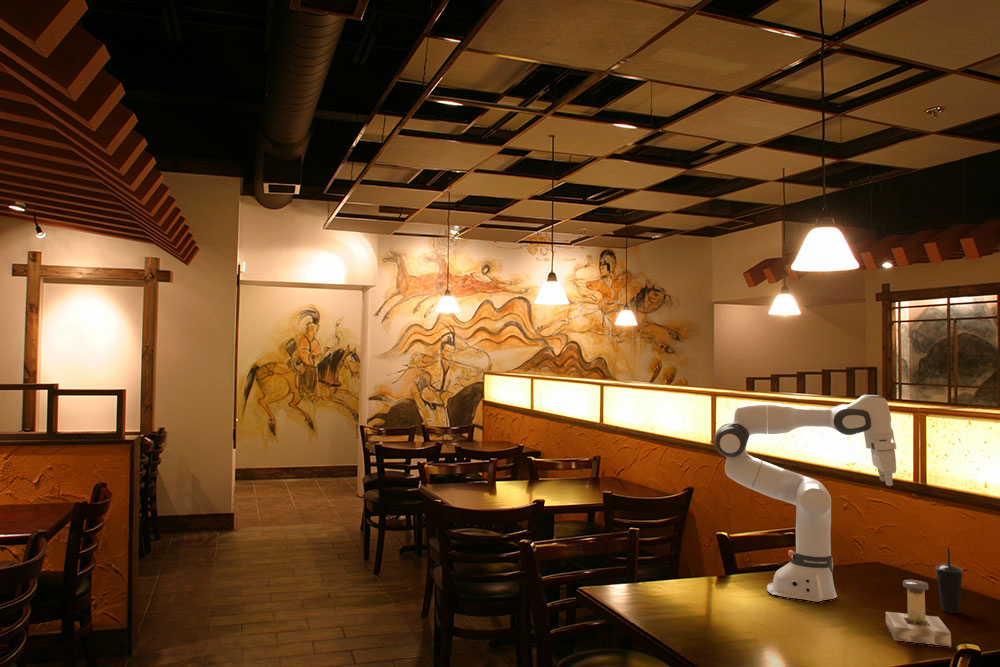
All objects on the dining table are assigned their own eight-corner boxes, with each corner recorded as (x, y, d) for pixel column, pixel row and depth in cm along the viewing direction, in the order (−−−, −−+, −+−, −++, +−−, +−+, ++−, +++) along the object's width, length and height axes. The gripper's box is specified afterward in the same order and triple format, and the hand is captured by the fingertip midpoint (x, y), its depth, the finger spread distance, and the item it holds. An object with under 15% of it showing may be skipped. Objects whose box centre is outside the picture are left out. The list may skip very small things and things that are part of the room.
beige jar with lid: (907, 638, 206) (905, 584, 207) (902, 630, 212) (901, 578, 213) (932, 641, 204) (930, 586, 205) (927, 633, 210) (925, 580, 211)
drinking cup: (964, 617, 224) (962, 552, 225) (936, 612, 228) (934, 549, 230) (964, 610, 231) (962, 547, 232) (936, 606, 235) (934, 544, 236)
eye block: (894, 641, 204) (894, 626, 204) (885, 625, 217) (885, 611, 217) (951, 647, 199) (950, 632, 199) (938, 630, 212) (938, 616, 213)
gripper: (864, 439, 252) (870, 478, 251) (875, 446, 233) (882, 488, 232) (883, 437, 251) (890, 477, 250) (897, 444, 231) (903, 487, 230)
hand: (886, 483), depth 241 cm, fingers open, 8 cm apart
